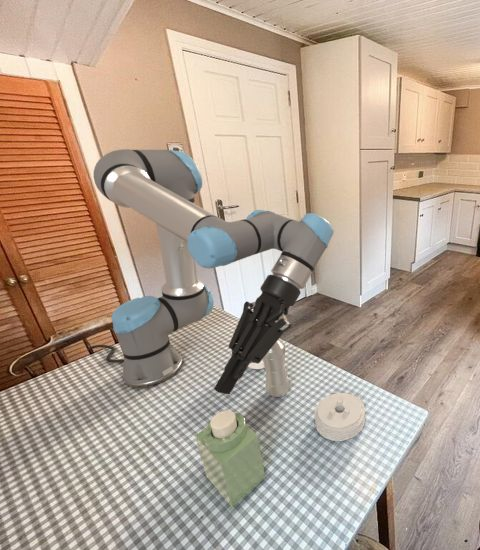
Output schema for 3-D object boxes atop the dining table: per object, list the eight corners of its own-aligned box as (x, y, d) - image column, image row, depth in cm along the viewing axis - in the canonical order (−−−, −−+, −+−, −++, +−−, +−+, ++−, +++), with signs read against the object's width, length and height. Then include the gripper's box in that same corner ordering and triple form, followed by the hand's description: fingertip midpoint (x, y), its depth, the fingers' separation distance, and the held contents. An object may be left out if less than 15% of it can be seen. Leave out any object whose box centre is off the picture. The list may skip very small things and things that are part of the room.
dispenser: (206, 476, 64) (192, 427, 59) (238, 451, 69) (229, 403, 64) (232, 507, 58) (219, 456, 53) (265, 477, 64) (256, 427, 58)
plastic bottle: (284, 402, 83) (276, 340, 76) (262, 398, 84) (252, 337, 77) (294, 386, 89) (288, 327, 81) (273, 382, 90) (265, 324, 83)
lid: (349, 396, 85) (348, 382, 83) (374, 428, 75) (375, 412, 74) (307, 416, 79) (305, 401, 77) (329, 453, 69) (328, 437, 67)
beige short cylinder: (208, 431, 58) (205, 421, 57) (229, 416, 62) (227, 406, 61) (220, 443, 56) (217, 433, 55) (241, 427, 59) (239, 417, 58)
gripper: (254, 266, 63) (187, 373, 57) (295, 281, 56) (224, 406, 50) (277, 282, 69) (219, 380, 63) (317, 297, 62) (256, 410, 56)
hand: (221, 391), depth 56 cm, fingers closed
